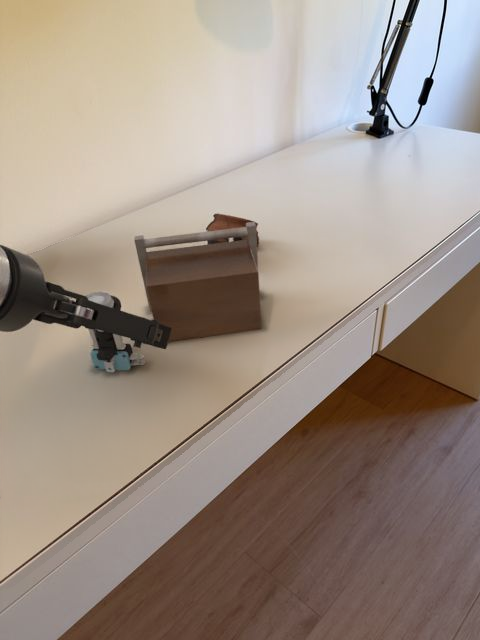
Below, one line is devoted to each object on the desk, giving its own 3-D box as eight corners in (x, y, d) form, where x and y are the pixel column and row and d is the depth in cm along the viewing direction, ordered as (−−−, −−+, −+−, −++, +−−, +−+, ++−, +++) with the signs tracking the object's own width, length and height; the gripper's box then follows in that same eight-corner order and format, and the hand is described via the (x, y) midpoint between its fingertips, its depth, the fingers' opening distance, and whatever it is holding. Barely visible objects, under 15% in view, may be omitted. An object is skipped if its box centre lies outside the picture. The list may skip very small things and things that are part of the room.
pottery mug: (190, 259, 89) (199, 209, 87) (237, 267, 94) (246, 220, 93) (224, 270, 79) (235, 215, 78) (274, 279, 85) (286, 227, 83)
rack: (149, 307, 77) (134, 235, 70) (258, 292, 79) (254, 221, 72) (150, 344, 70) (133, 269, 63) (269, 327, 72) (266, 252, 65)
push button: (150, 353, 69) (135, 288, 63) (139, 380, 65) (121, 314, 58) (101, 351, 70) (82, 287, 63) (87, 378, 65) (64, 312, 59)
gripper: (-120, 296, 50) (44, 333, 70) (76, 357, 41) (198, 380, 62) (-97, 221, 50) (60, 280, 71) (103, 266, 42) (216, 318, 62)
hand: (125, 326), depth 66 cm, fingers open, 12 cm apart
